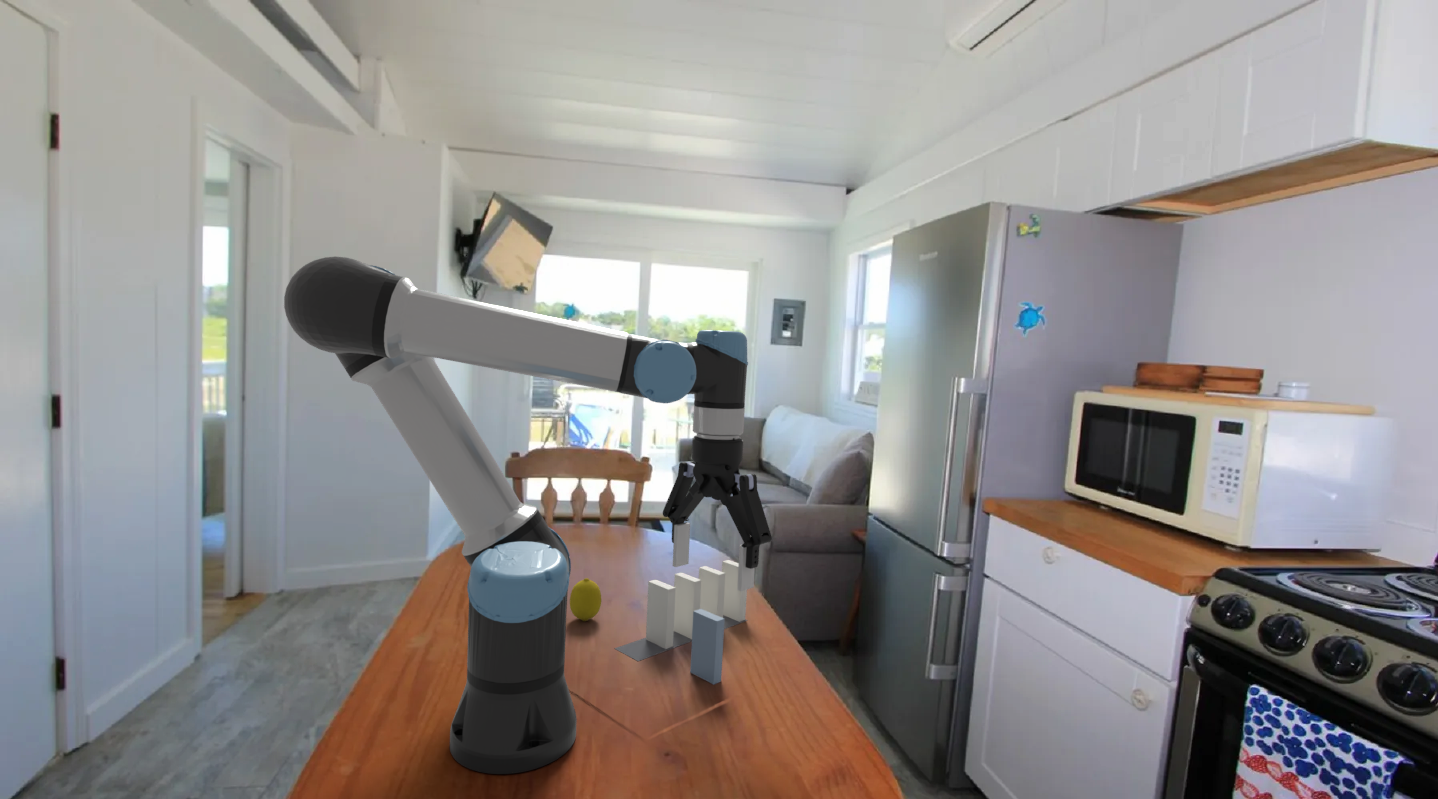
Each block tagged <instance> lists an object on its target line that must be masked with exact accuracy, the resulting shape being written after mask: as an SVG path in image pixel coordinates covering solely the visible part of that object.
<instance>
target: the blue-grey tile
mask: <svg viewBox="0 0 1438 799" xmlns="http://www.w3.org/2000/svg"><path fill="white" fill-rule="evenodd" d="M724 634H725V629H724V618H722V617H719V616H717V615H715V614H712V613H710V612H708V611H705V610H703V609H699V610H695V611H693V629H692V642H691V653H690V669H689V670H690V674H692V675H695V676H697V677H698V678H700V679H702V680H704V681H706V682H708V683H710V684H711V685H713V686H714V685H717V684H719V683H721V682H722V674H723V672H722V670H723V654H724V636H725V635H724Z"/></svg>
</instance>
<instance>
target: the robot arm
mask: <svg viewBox="0 0 1438 799" xmlns="http://www.w3.org/2000/svg"><path fill="white" fill-rule="evenodd" d="M283 302H284V303H283V304H284V305H283V306H284V307H283V308H284V312H285V316H286V319H287V321H288V323H289V325H290V326H291V328H292V329H293V332H294V333H296V335H298V337H299V338H300V339H301V340H303V341H305V342H306V343H307V344H308V345H310V346H312V347H314V348H316V349H318V350H321V351H324V352H327V353H331V354H334V355H336V358H337V359H338V360H339V362H340V364H341V365H342V367H343V369H344V370H345V371H346V373H347V375H348V376H349V378H350V379H351V380H352V382H357V383H360V384H362V385H363V384H364V385H366V386H368V387H370V388H371V389H372V390H373V393H374V394H375V395H376V396H377V399H378V401H379V402H380V403H381V405H382V407H383V408H384V409H385V411H386V413H387V414H388V416H389V418H390V419H391V421H392V423H393V424H394V426H395V427H396V428H397V430H398V432H399V433H400V435H401V437H402V438H403V439H404V441H405V443H406V445H407V446H408V447H409V450H410V451H411V452H412V453H411V454H413V456H414V457H415V459H416V460H417V462H418V464H419V465H420V467H421V468H422V470H423V471H424V473H425V475H426V477H427V478H428V479H429V481H430V483H431V484H432V486H433V487H434V489H435V490H436V492H437V494H438V495H439V497H440V499H441V500H442V502H443V503H444V505H445V506H446V508H447V509H448V511H449V513H450V514H451V516H452V518H453V519H454V520H455V522H456V524H457V526H458V527H459V529H460V530H461V532H462V534H464V543H463V546H462V549H461V554H462V555H463V557H464V558H465V560H466V562H467V563H468V565H469V566H470V570H469V571H470V572H469V577H468V581H467V586H466V588H467V595H468V596H467V597H468V619H467V620H468V621H467V623H468V624H467V655H466V656H467V657H466V658H467V659H466V661H467V662H466V666H467V668H466V683H465V685H464V689H463V691H462V694H461V697H460V700H459V702H458V705H457V709H456V711H455V713H454V716H453V718H452V721H451V724H450V725H451V726H450V731H449V751H450V754H451V756H452V758H453V759H454V760H455V761H456V762H457V763H458V764H460V765H461V766H463V767H464V768H467V769H469V770H471V771H475V772H478V773H484V774H489V775H490V774H491V775H493V774H494V775H509V774H518V773H525V772H529V771H532V770H535V769H539V768H541V767H544V766H546V765H548V764H549V765H550V764H551V763H553V762H555V761H557V760H558V759H560V758H561V757H562V756H564V755H565V754H566V753H567V752H568V751H569V750H570V749H571V748H572V746H573V745H574V743H575V741H576V737H577V722H578V721H577V720H578V719H577V713H576V709H575V707H574V703H573V700H572V697H571V693H570V691H569V690H570V689H569V686H568V684H567V680H566V676H565V660H566V637H567V636H566V635H567V633H566V632H567V631H566V630H567V608H568V607H567V606H568V593H569V592H568V591H569V587H570V577H571V569H572V566H571V564H572V561H571V558H570V555H571V554H570V552H569V549H568V547H567V544H566V543H565V541H564V540H563V538H562V537H561V536H560V535H559V533H557V532H556V531H555V530H554V529H552V528H551V527H549V525H548V523H547V522H546V520H545V519H544V517H543V516H542V514H541V512H540V511H539V509H538V508H537V506H536V505H531V504H527V503H523V502H521V501H520V500H519V498H518V496H517V494H516V492H515V491H514V489H513V487H512V486H511V484H510V483H509V481H508V479H507V477H506V476H505V475H504V473H503V471H502V470H501V468H500V466H499V465H498V462H496V460H495V458H494V456H493V455H492V453H491V452H490V450H489V448H488V446H487V444H485V441H484V440H483V438H482V437H481V435H480V433H479V432H478V430H477V429H476V427H475V425H474V423H473V422H472V420H471V419H470V417H469V415H468V414H467V412H466V410H465V409H464V407H463V406H462V403H461V402H460V401H459V399H458V397H457V396H456V393H455V392H454V391H453V389H452V387H451V386H450V384H449V383H448V381H447V379H446V378H445V376H444V374H443V372H442V371H441V369H440V368H439V366H438V364H437V363H436V361H435V359H434V358H436V359H441V360H446V361H452V362H456V363H462V364H466V365H471V366H472V365H473V366H478V367H484V368H487V369H492V370H499V371H503V372H508V373H515V374H520V375H526V376H530V377H535V378H542V379H547V380H552V381H557V382H562V383H567V384H572V385H578V386H583V387H588V388H594V389H599V390H605V391H610V392H615V393H619V394H621V395H622V394H624V395H629V396H634V397H639V398H643V399H648V400H649V401H651V402H653V403H654V402H655V403H658V404H671V403H674V402H677V401H680V400H681V399H683V398H685V397H686V396H687V395H693V396H694V400H693V402H694V403H693V419H692V432H693V433H695V434H696V435H694V436H693V438H692V441H691V442H692V444H691V459H692V460H691V461H681V462H679V464H678V472H677V477H676V479H675V481H674V483H673V486H672V489H671V492H670V493H669V495H668V498H667V500H666V503H665V506H664V508H663V511H662V516H663V517H664V518H668V519H669V520H670V523H671V542H672V544H673V549H672V567H674V568H678V567H682V566H686V565H689V563H690V562H689V560H690V559H689V558H690V542H691V541H690V540H691V539H690V537H691V523H690V522H688V521H690V519H689V517H690V516H691V514H693V512H694V511H695V509H697V507H698V506H699V504H700V503H701V502H702V500H703V499H705V498H711V499H713V500H714V501H720V502H721V503H720V504H722V505H723V506H724V507H726V509H727V511H728V514H729V515H730V517H731V519H732V521H733V523H734V525H735V527H736V529H737V531H738V533H739V535H740V537H741V540H742V542H743V543H742V544H739V546H738V547H739V548H738V549H739V550H738V563H739V566H738V587H737V590H739V591H744V590H747V591H748V590H751V589H753V588H754V587H755V571H756V570H755V568H757V567H758V566H759V562H760V561H759V559H760V546H761V545H763V544H767V543H770V542H772V540H773V539H772V538H773V537H772V533H771V530H770V527H769V525H768V524H769V523H768V520H767V517H766V514H765V510H764V507H763V505H762V504H763V503H762V501H761V498H760V495H759V494H760V493H759V491H758V477H757V474H755V473H748V474H741V472H740V465H741V463H742V462H743V457H744V440H743V438H742V437H740V436H742V435H743V434H744V429H745V412H746V411H745V410H746V406H745V401H746V387H747V373H748V372H747V371H748V366H749V361H748V338H747V336H746V335H745V334H744V332H741V331H735V330H733V331H732V330H714V329H713V330H712V329H711V330H709V329H701V330H699V331H698V332H697V333H696V334H697V335H696V338H695V341H694V342H693V341H692V342H678V341H674V340H670V339H669V340H668V339H658V338H654V337H649V336H644V335H639V334H632V333H629V332H626V331H619V330H615V329H610V328H606V327H602V326H596V325H593V324H587V323H582V322H577V321H573V320H568V319H563V318H559V317H554V316H548V315H544V314H540V313H534V312H531V311H525V310H520V309H516V308H515V309H514V308H512V307H511V308H510V307H508V306H503V305H497V304H491V303H486V302H482V301H478V300H473V299H468V298H464V297H459V296H453V295H449V294H444V293H440V292H435V291H431V290H426V289H420V288H417V287H416V286H415V284H414V283H413V282H412V280H411V279H410V278H409V277H406V276H400V275H396V274H395V273H393V272H392V271H390V270H387V269H386V268H383V267H380V266H377V265H372V264H368V263H365V262H362V261H359V260H357V259H355V258H354V259H353V258H351V257H350V258H349V257H345V256H344V257H343V256H327V257H325V256H324V257H322V258H319V259H318V258H317V259H314V260H312V261H309V262H307V263H306V264H305V265H303V266H302V267H301V268H299V269H297V271H296V272H295V273H294V274H293V275H292V276H291V278H290V280H289V281H288V284H287V286H286V288H285V292H284V297H283ZM694 478H695V481H694ZM693 481H694V483H693ZM692 483H693V484H692Z"/></svg>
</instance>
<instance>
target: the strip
mask: <svg viewBox="0 0 1438 799" xmlns="http://www.w3.org/2000/svg"><path fill="white" fill-rule="evenodd" d="M723 618H724V630H726V629H729V628H731V627H734V626H737V625H739V624H741V623H745V622H748V619H746V618H745V620H743V621H740V622H739V621H736V620H734V619H731V618H729V617H727V616H724V615H723ZM688 643H692V639H690V638H688V637H686V636H684V635H681V634H679V633H677V632H675V631H674V633H673V647H670V648H667V649H664V648H662V647H660V646H658V645H656V644H654V643H652V642H650V641H648V640H646V637H644V638H641V639H638V640H637V639H636V640H634V641H632V642H628V643H626V644H623V645H620V646H617V647H614V649H615V650H616V651H618V652H620V653H622V654H624V655H625V656H627V657H629V658H631V659H632V660H635V661H637V662H641V661H643V660H645V659H648V658H651V657H654V656H656V655H659V654H662V653H664V652H668V651H669V650H670V651H671V650H672V649H675V648H678V647H680V646H684V645H687V644H688Z"/></svg>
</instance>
